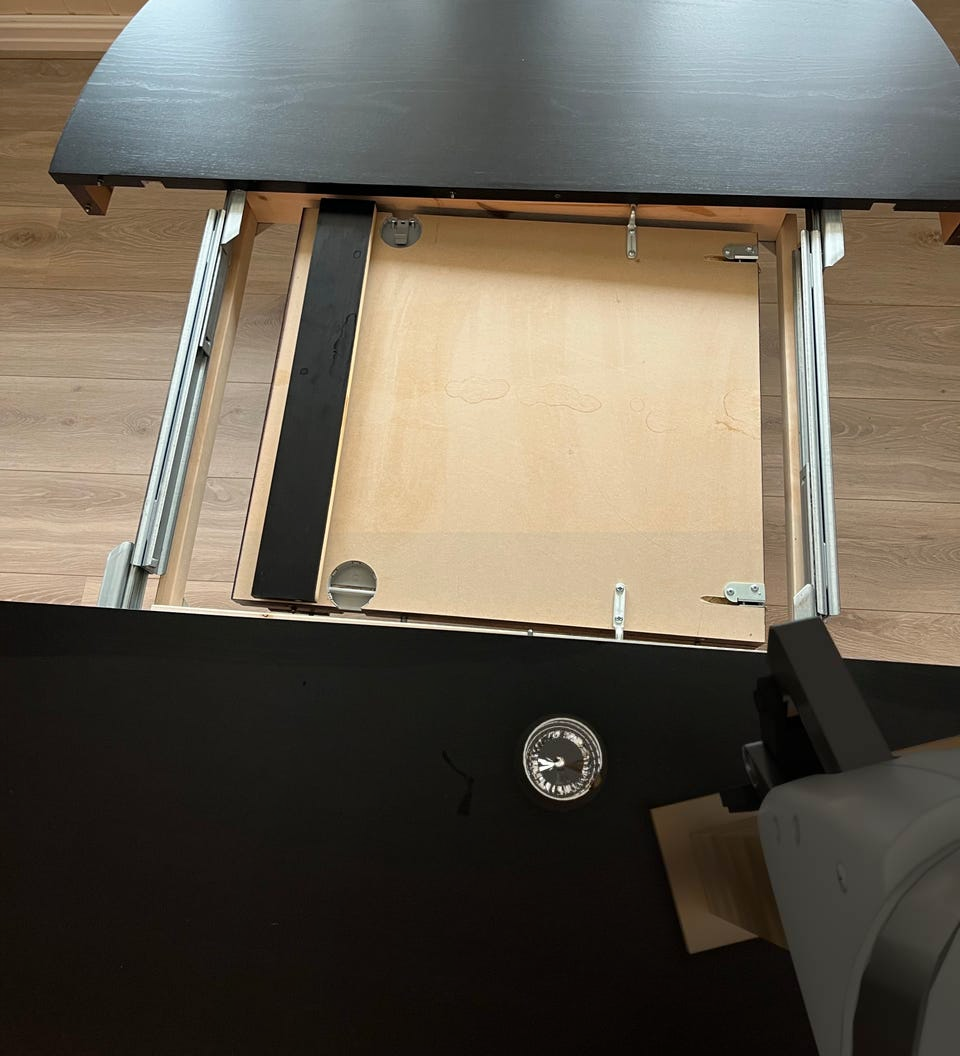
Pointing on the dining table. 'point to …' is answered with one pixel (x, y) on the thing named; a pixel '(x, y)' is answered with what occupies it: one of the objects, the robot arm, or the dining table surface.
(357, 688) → the dining table surface
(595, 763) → the wineglass
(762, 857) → the pedestal
